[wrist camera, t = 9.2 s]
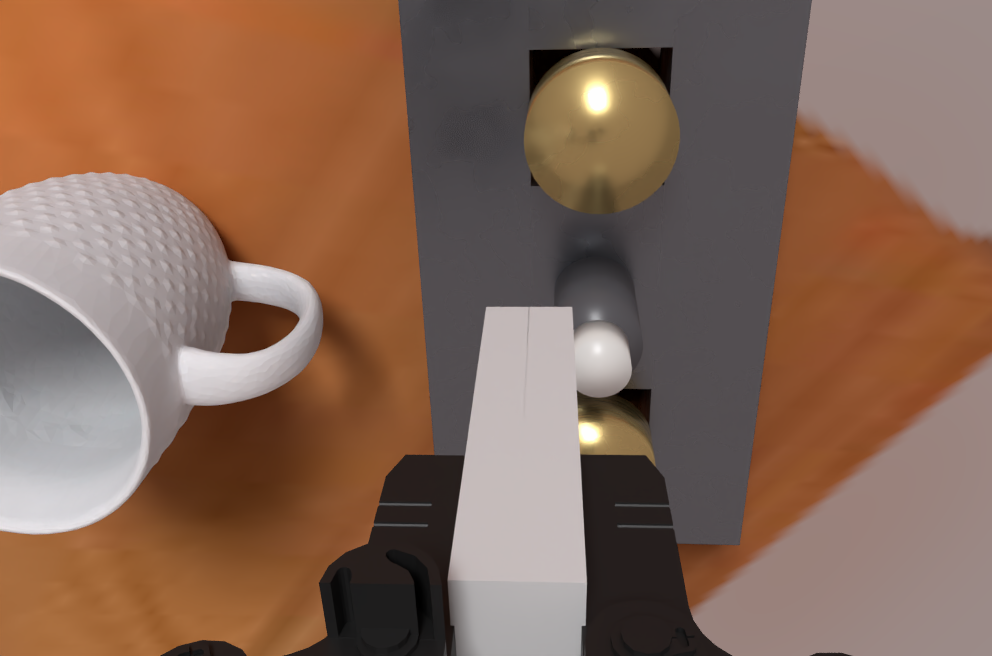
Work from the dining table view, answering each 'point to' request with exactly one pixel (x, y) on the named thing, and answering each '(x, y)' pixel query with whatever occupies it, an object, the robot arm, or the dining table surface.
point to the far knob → (612, 427)
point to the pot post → (601, 323)
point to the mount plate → (613, 214)
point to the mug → (118, 340)
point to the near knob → (601, 131)
